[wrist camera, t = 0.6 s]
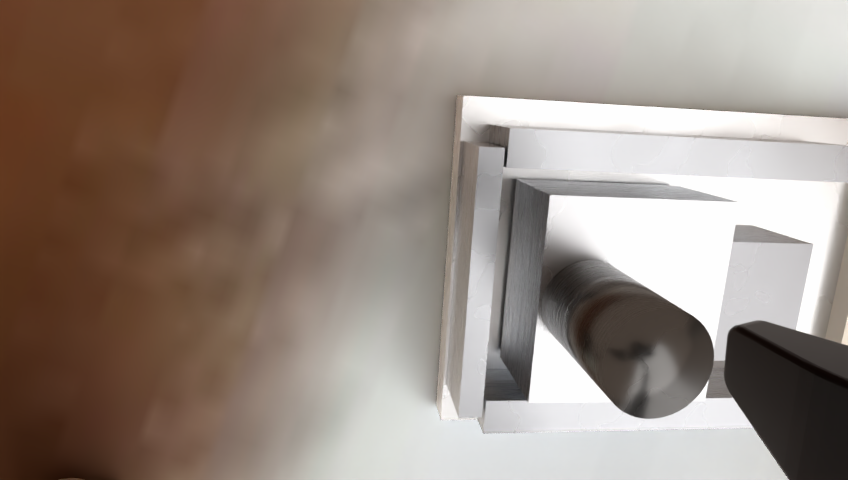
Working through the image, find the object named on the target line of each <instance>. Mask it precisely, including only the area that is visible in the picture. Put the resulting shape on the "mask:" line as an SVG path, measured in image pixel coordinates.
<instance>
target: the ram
mask: <svg viewBox="0 0 848 480" xmlns="http://www.w3.org/2000/svg"><path fill="white" fill-rule="evenodd" d="M738 208H739V202H737V201H733V200H730V199H726V198H722V197H718V196H715V195H711V194H707V193H703V192H700V191H696V190H692V189H688V188H685V187H681V186H671V185H647V184H622V183H598V182H573V181H549V180H524V179H516V188H515V199H514V210H513V221H512V232H511V243H510V254H509V265H508V276H507V287H506V298H505V309H504V320H503V331H502V342H501V353H500V358H501V359H502V361H503V363H504V364H505V366H506V367H507V369H508V371H509V372H510V374H511V376H512V377H513V379H514V380H515V382H516V384H517V385H518V387H519V389H520V390H521V392H522V394H523V395H524V397H525V398H526V400H527V402H528V403H576V402H612V403H613V404H614V405H615V406H616V407H617V408H618V409H620V410H621V411H623V412H624V413H626V414H628V415H631V416H634V417H637V418H643V419H656V418H662V417H666V416H669V415H672V414H674V413H676V412H678V411H680V410H682V409H683V408H685V407H686V406H688V405H689V404H690V403H691V402H692V401H705V398H706V392H707V386H708V381H709V378H710V375H711V372H712V368H713V363H714V361H725V354H726V344H727V335H728V332H729V330H730V329H731V328H732V327H733V326H735V325H738V324H743V323H747V322H751V321H755V320H763V321H767V322H770V323H774V324H777V325H780V326H784V327H787V328H791V329H794V330H796V328H797V323H798V318H799V313H800V308H801V303H802V298H803V294H804V289H805V284H806V279H807V274H808V269H809V264H810V259H811V254H812V250H813V245H814V244H811V243H808V242H805V241H802V240H799V239H795V238H792V237H789V236H786V235H783V234H780V233H776V232H773V231H770V230H767V229H764V228H760V227H757V226H754V225H736V220H737V214H738Z"/></svg>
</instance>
